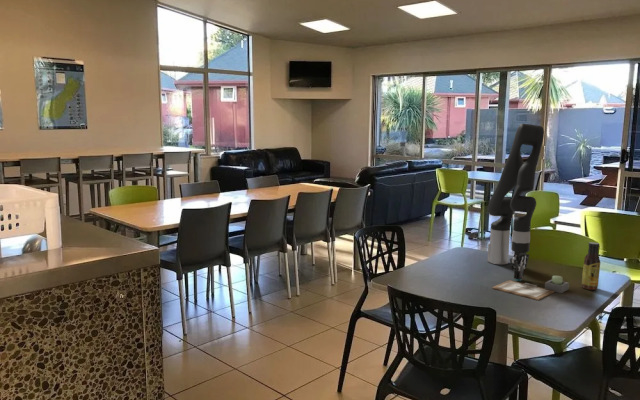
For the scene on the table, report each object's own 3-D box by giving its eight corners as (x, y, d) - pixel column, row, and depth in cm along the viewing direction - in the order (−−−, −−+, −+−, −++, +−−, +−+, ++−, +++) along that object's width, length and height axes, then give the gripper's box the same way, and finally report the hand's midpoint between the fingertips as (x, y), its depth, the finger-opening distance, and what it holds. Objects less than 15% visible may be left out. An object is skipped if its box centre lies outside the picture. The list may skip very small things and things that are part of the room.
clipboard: (492, 288, 221) (492, 286, 221) (509, 281, 231) (509, 278, 231) (538, 300, 206) (538, 297, 206) (554, 292, 216) (554, 289, 216)
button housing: (544, 289, 220) (545, 282, 220) (551, 285, 225) (552, 279, 224) (561, 293, 215) (561, 286, 215) (568, 289, 220) (568, 282, 219)
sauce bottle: (591, 291, 217) (595, 245, 214) (578, 287, 223) (581, 242, 220) (601, 289, 220) (605, 243, 217) (587, 285, 226) (591, 240, 223)
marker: (513, 280, 232) (514, 261, 231) (516, 278, 235) (517, 260, 233) (520, 281, 230) (521, 263, 229) (523, 280, 232) (524, 261, 231)
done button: (550, 284, 220) (550, 276, 219) (554, 282, 222) (554, 274, 222) (559, 286, 217) (560, 278, 216) (563, 284, 220) (564, 276, 219)
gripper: (520, 236, 237) (518, 273, 240) (505, 241, 228) (502, 279, 230) (536, 239, 232) (533, 276, 234) (521, 244, 222) (519, 283, 225)
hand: (518, 277), depth 232 cm, fingers closed on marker, 3 cm apart
